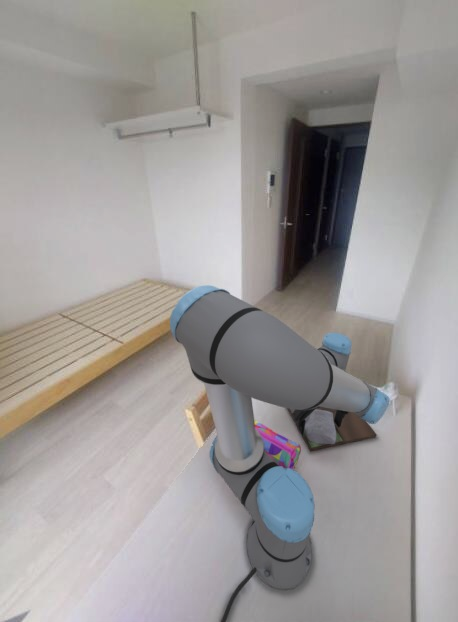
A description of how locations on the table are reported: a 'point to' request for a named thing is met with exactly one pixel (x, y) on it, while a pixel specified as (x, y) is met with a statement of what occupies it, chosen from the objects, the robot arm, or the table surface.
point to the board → (342, 431)
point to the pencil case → (279, 447)
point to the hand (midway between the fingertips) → (319, 427)
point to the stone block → (320, 427)
